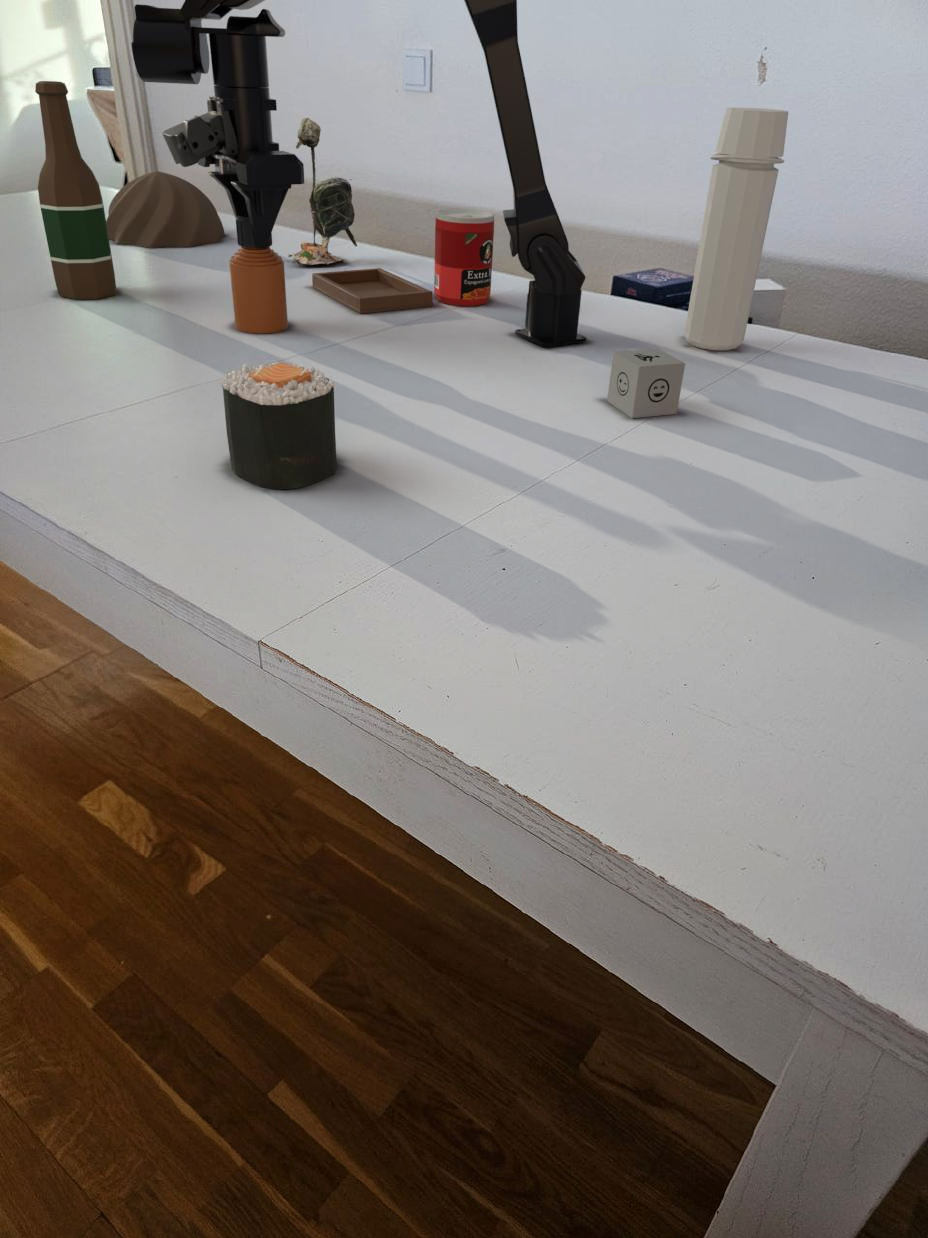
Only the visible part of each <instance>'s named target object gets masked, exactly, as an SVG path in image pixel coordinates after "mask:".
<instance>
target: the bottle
mask: <svg viewBox="0 0 928 1238" xmlns="http://www.w3.org/2000/svg"><path fill="white" fill-rule="evenodd" d="M228 263H229V264H228V265H229V275H230V284H231V293H232V294H231V296H232V305H233V315H234V326H235V329H236V330H237V331H240V332H242V333H248V334H263V335H264V334H274V333H278V332H282V331H285V330H286V329H288V327H289V324H288V323H289V322H288V305H287V291H286V290H287V289H286V275H285V273H286V272H285V260H284V259H283V258H282V256H281V255H279V254H278V252H276V251H275V250H274V249H272V248H271V246H269V247H266V248H248V247H242V246H240V248H239V249H238V250H237V251H236V252H234V254H233V255H231V256H230V260H229V261H228Z"/></svg>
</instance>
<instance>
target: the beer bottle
mask: <svg viewBox="0 0 928 1238" xmlns="http://www.w3.org/2000/svg"><path fill="white" fill-rule="evenodd" d="M34 92H35V93H36V94H37V95H38V100H39V108H40V114H41V115H40V116H41V122H42V128H43V138H44V151H45V159H44V162H43V165H42V166H41V169H40V172H39V176H38V184H37V193H38V200H39V207H40V212H41V218H42V221H43V226H44V234H45V237H46V242H47V243H46V244H47V247H48V253H49V258H50V262H51V267H52V272H53V278H54V282H55V286H56V290H57V293H58V296H59V297H61V298H66V299H70V300H76V301H77V300H99V299H104V298H108V297H113V296H115V295H116V290H117V284H116V275H115V269H114V262H113V261H114V260H113V255H112V248H111V242H110V239H109V236H108V230H107V224H106V221H107V217H106V212H105V207H104V206H105V205H104V200H103V196H102V192H101V191H102V190H101V188H100V184H99V182H98V180H97V178H96V176H95V173H94V172H93V170H92V168H91V167H89V165H88V164H87V162H86V161H85V160H84V159H83V157H82V154H81V151H80V148H79V145H78V142H77V137H76V133H75V128H74V124H73V119H72V115H71V111H70V106H69V102H68V96H67V95H68V94H69V90H68V87H67V85H66V83H65V82H62V81H55V80H54V81H53V80H39V81H37V82H36V83H35V89H34Z"/></svg>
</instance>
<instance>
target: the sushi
mask: <svg viewBox="0 0 928 1238" xmlns="http://www.w3.org/2000/svg"><path fill="white" fill-rule="evenodd" d="M258 366H259V367H257V366H251V365H250V364H247V363H244V364H243V365H242V369H239V370H237V371H236V370H232V372H228V374H224V375H223V378H222V380H220V381H219V384H220V386H221V387H222V395H223V406H224V407H223V408H224V416H225V417H224V418H225V419H224V420H225V429H226V436H227V437H226V438H227V446H228V453H229V460H230V467H231V468H230V469H231V471H232V472H233V473H234V474H235V475H236V476H238V477H240V478H242V479H244V480H246V481H248V482H250V483H252V484H254V485H257V486H258V487H261V488H266V489H270V490H291V489H298V488H299V489H300V488H303V487H306V486H309V485H312V484H314V483H317V482H319V481H322V480H325V479H326V478H328V477H330V476H332V475H334V474H335V473H336V471H337V468H338V462H337V461H338V459H337V441H336V417H335V416H336V414H335V410H336V409H335V381H332V380H330V379H329V378H328V377H326V376H325V373H324V372H322V371H321V370H320V369H317V370H316V368H315V366H311V367H310V368H309V369H308V368H305V367H304V364H295V363H293V365H292V364H291V365H290V364H287V363H285V362H279V361H276V362H270V363H267V364H265V363H261V364H259V365H258Z"/></svg>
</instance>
